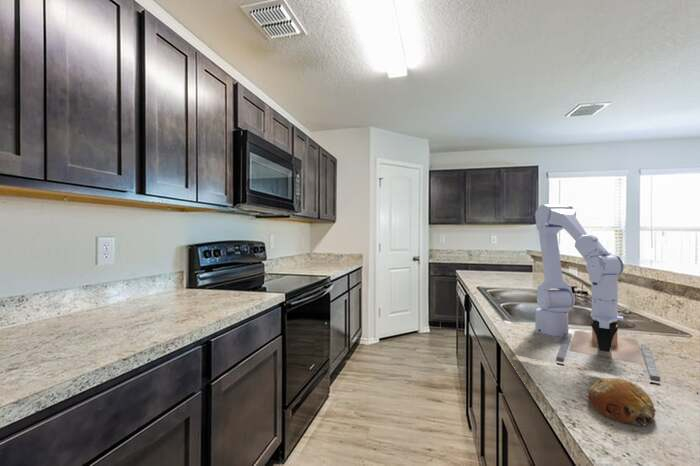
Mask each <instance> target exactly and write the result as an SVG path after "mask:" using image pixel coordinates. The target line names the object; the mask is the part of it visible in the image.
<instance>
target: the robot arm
mask: <svg viewBox="0 0 700 466" xmlns="http://www.w3.org/2000/svg"><path fill="white" fill-rule="evenodd" d="M534 217H535V225H536V226H535V227H536V230H537V231H538V235H539V245H540V254H541V261H542V268H543V276H544V277H543V279H544V281H542V282H541V283H540V284H539V285H538V286H536V288H537V294H536V301H537V305H538V306H539V307H537V308H536V309H535V315H534V316H535V317H534V319H535V320H534V321H535V322H534V323H535V326H534V329H535V331H534V332H535V333H538V334H544V335H548V336H554V337H564V336H565V334H566V333H569V312H571V311H572V310H571V309H572V308H573V307H574V306H575V303H576V302H575V301H576V298H575V295H574V293H573V290H572V286H571V285H570V284H569V283H567V282H566V281H565V280H564V277H563V271H562V270H563V268H562V263H561V261H562V260H561V254H560V248H559V241H558V233H559V232H560V231H563V229H564V230H565V231H566V232H567V233H568V234H569V235H570V237H571V238H572V239H573V240H575V242H574V248H575V249H576V250H577V251H578V253H579V255H581V257H582V258H583V260H584V261H585V262H586V264H585V268H586V269H585V270H586V272H587V273H588V280H589V281H590V283H591V286H590V287H591V288H590V289H591V292H590V293H591V299H590V300H591V302H590V303H591V304H590V305H591V313H590V317H591V318H592V319H591V322H590V323H591V324H590V325H591V329H592V328H593V330H594V332H595V334H596V337H597V342H598V347H599V350H600V351H605V352H609V351H610V348H611V344H612V340H613V337H614V335H615V333H616V332H617V333H618V330H619V328H618V321H624V316H622V315H620V316H619V313H618V312H619V309H618V306H619V304H618V303H619V295H618V293H619V292H618V290H619V288H618V285H619V281H618V279H619V278H618V276H621V275H622V274H623V271H624V262H623V260H622V259H621V257H620V256H619V255H618V254H613V253H612V252H608V250H607V249H606V248H605V247H604V245H602V243H601V242H600V241H599V238H598V237H597V236H594V235H592V234H588V233H587V232H586V231H585V229H584V227H583V226H582V225H581V223H580V221H579V220H578V219H577V210H576V209H574V207H573V206H572V205H571V204H570V203H567V204H544V203H542V204H541V205H539V206H538V207H537V209H536V211H535V214H534ZM592 322H593V323H592ZM616 325H617V327H616Z"/></svg>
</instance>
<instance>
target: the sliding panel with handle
mask: <svg viewBox="0 0 700 466" xmlns="http://www.w3.org/2000/svg"><path fill="white" fill-rule="evenodd" d="M568 349H569V350H568V351H569V352H574V353H579V354H584V355H590V356H596V357H601V358H606V359H607V358H608V359H613V360H616V361H617V360H618V361H624V362H629V363H635V364H640V365H645V361H644V357H643V354H642V352H641V347H640V345H639V342H638V339H634V338H627V337H622V336H617V346H613V345H612V344H611V348H610V351H609V352H605V351H600V350H599V347H598V342H597V343H595V342H592V332H586V331H579V330H574V333H573V335H572V338H571V341H570V345H569V348H568Z"/></svg>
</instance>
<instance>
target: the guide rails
mask: <svg viewBox="0 0 700 466" xmlns="http://www.w3.org/2000/svg"><path fill="white" fill-rule="evenodd" d="M572 338H573V334H572V333H569V332H568V333H566V334H565V336H563V339H562V341H561V345H560V347H559V350H558V353H557V354H556V358H555V359H556V361H560V362H564V361H565V358H566V356H567V352H568V351H569V350H568V349H569V348H570V345H571V341H572ZM649 346H650V345H646V344H640V350H641V351H642V352H641V353H642V357H643V360H644V363H645V365H646V368H647V373H648V376H649V378H650V380H654V381H649V383H650V385H655V386H661V383H659V382H655V381H661V376H660V374H659V370H658V368H657V366H656V363H655V359H654V358H653V355H652V352H651V349H650V347H649ZM560 362H556V365H557V366H565V364H564V363H560Z"/></svg>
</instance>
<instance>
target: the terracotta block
mask: <svg viewBox="0 0 700 466" xmlns="http://www.w3.org/2000/svg"><path fill="white" fill-rule="evenodd" d="M591 323H593V322H592V321H591ZM616 327H618V324H617V325H616ZM591 333H592V342H595V343H597V337H596V334H595V332H594V330H593V328H592V327H591ZM617 337H618V331H617V332H616V333H615V335H614V337H613V340H612V345H613V346H617Z"/></svg>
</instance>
